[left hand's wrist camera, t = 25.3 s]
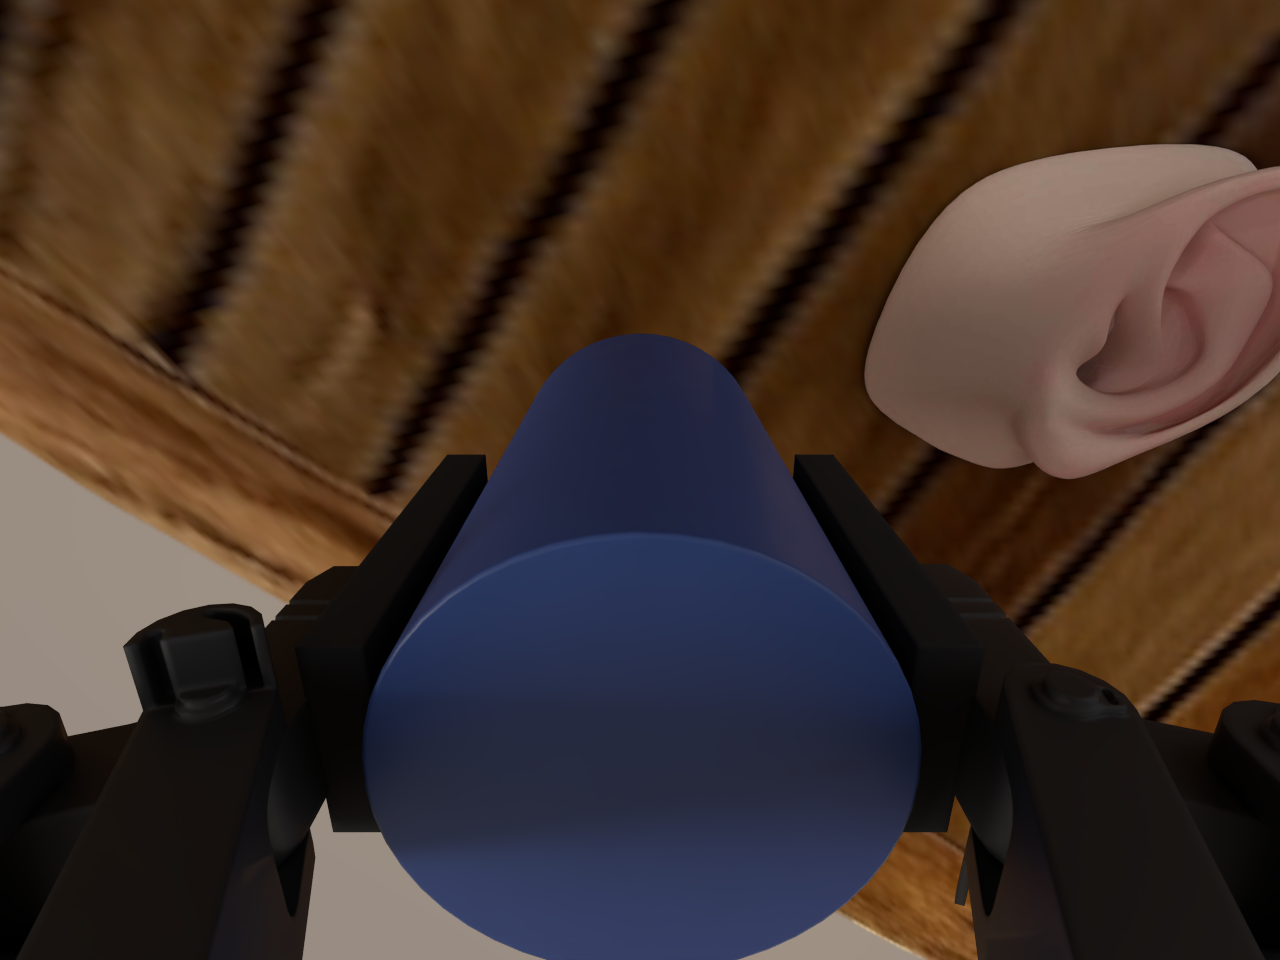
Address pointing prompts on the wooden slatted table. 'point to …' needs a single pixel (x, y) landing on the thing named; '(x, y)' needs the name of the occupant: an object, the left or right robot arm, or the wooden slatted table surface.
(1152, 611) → the wooden slatted table surface
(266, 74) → the wooden slatted table surface
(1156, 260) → the anatomical model
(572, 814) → the canister
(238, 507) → the wooden slatted table surface
